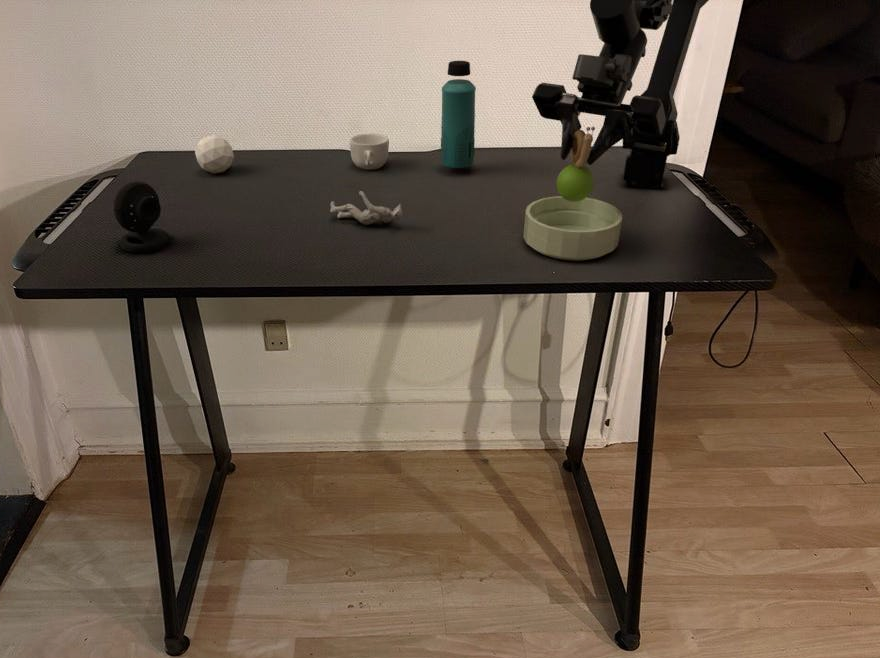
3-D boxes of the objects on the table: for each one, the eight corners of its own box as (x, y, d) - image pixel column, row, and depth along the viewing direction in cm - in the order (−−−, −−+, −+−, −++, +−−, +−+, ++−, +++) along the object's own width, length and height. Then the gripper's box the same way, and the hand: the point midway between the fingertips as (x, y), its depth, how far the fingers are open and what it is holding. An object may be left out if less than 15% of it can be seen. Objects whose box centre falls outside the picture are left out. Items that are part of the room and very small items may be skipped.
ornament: (196, 179, 139) (180, 140, 138) (219, 180, 146) (204, 143, 145) (224, 162, 136) (207, 122, 136) (246, 165, 143) (230, 127, 142)
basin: (616, 229, 116) (621, 199, 114) (617, 267, 105) (622, 235, 102) (527, 222, 119) (530, 192, 117) (518, 258, 108) (521, 227, 105)
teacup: (351, 160, 147) (350, 133, 144) (389, 159, 147) (389, 132, 144) (349, 176, 139) (347, 148, 136) (389, 176, 139) (388, 148, 136)
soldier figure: (348, 215, 125) (411, 201, 120) (348, 241, 124) (411, 228, 119) (325, 196, 118) (390, 180, 113) (324, 223, 117) (390, 208, 112)
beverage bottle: (471, 176, 138) (476, 65, 127) (437, 175, 139) (438, 64, 128) (475, 165, 143) (480, 58, 132) (442, 164, 144) (444, 57, 133)
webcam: (142, 258, 110) (128, 195, 104) (109, 248, 113) (93, 186, 108) (180, 240, 115) (168, 179, 110) (148, 230, 119) (135, 171, 113)
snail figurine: (563, 211, 106) (572, 128, 99) (550, 194, 111) (558, 115, 104) (599, 208, 106) (610, 126, 99) (584, 192, 111) (594, 113, 105)
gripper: (543, 23, 103) (501, 120, 102) (674, 35, 94) (629, 142, 93) (562, 70, 113) (523, 160, 111) (682, 85, 103) (641, 183, 102)
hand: (575, 161), depth 104 cm, fingers closed on snail figurine, 4 cm apart
